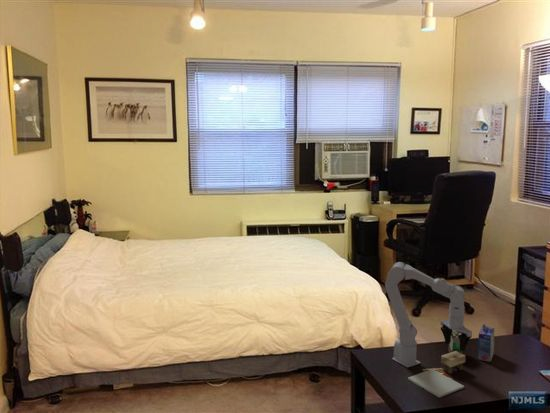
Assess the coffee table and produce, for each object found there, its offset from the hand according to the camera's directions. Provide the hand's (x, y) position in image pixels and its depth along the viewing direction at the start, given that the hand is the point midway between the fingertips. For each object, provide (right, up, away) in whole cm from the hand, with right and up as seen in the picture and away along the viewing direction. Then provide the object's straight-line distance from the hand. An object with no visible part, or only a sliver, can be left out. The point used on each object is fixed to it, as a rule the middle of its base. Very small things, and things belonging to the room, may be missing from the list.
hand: (455, 346), depth 197 cm
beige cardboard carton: (0, -10, +2) cm, 10 cm away
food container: (+7, -8, +16) cm, 20 cm away
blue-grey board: (-11, -12, -9) cm, 19 cm away
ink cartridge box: (+19, -9, +14) cm, 25 cm away
